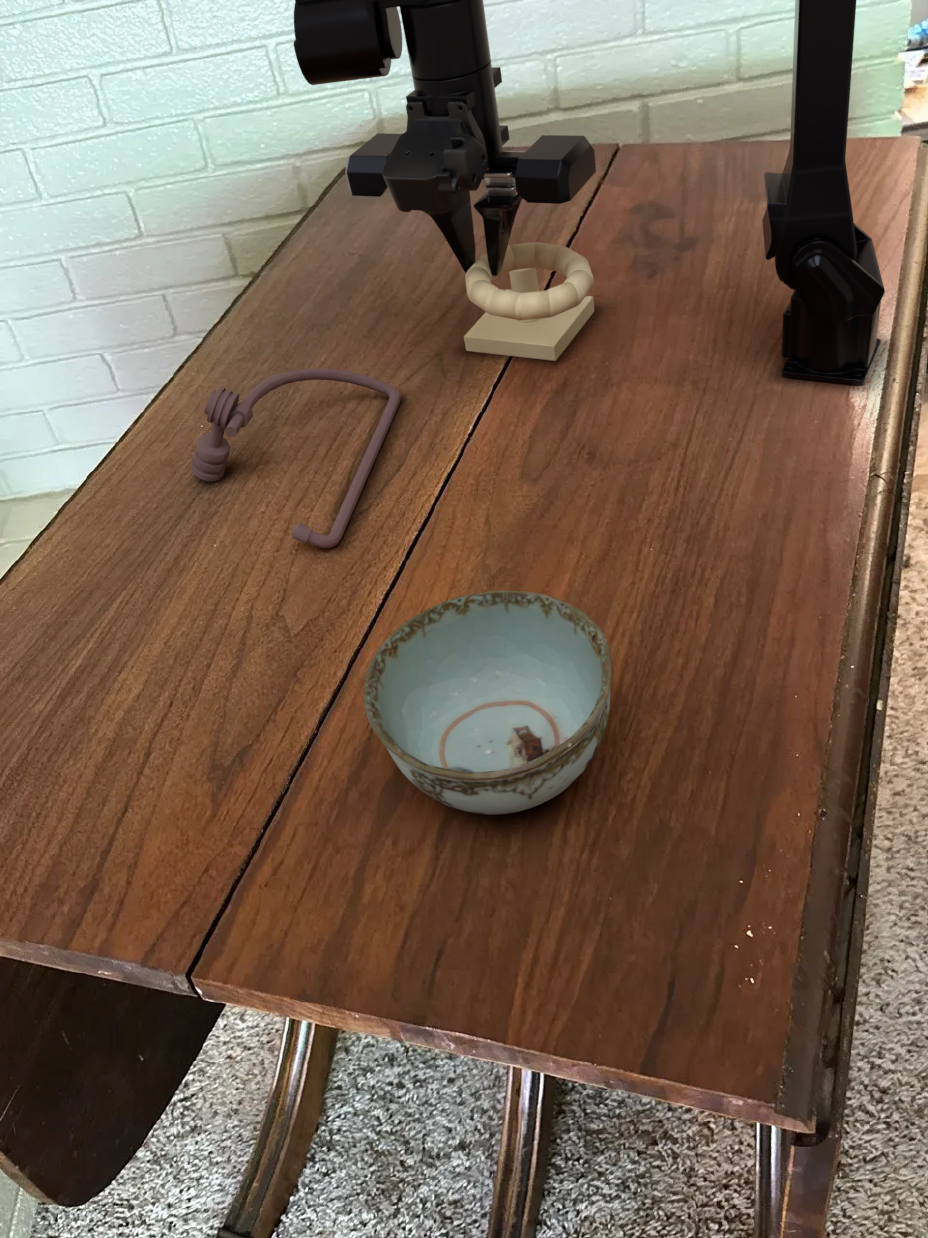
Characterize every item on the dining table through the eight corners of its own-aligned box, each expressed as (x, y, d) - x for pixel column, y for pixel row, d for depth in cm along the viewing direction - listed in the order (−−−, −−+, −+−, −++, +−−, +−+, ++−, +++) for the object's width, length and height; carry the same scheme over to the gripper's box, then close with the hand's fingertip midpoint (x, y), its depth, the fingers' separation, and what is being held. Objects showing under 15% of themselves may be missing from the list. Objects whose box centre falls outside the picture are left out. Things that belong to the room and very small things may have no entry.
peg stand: (594, 311, 100) (588, 244, 96) (555, 361, 95) (547, 292, 91) (507, 303, 104) (498, 238, 100) (465, 351, 99) (454, 285, 95)
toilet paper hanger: (340, 540, 79) (159, 463, 77) (311, 610, 85) (142, 540, 83) (409, 379, 94) (259, 312, 92) (380, 449, 100) (239, 387, 98)
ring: (610, 271, 88) (611, 248, 86) (563, 333, 82) (563, 309, 80) (498, 253, 91) (497, 230, 90) (445, 311, 85) (443, 288, 84)
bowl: (666, 811, 59) (660, 714, 53) (436, 905, 57) (406, 814, 52) (566, 654, 69) (552, 558, 63) (366, 729, 67) (335, 637, 61)
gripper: (283, 109, 76) (336, 312, 86) (524, 109, 68) (550, 332, 79) (361, 54, 83) (402, 249, 93) (589, 48, 75) (605, 261, 85)
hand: (483, 272), depth 87 cm, fingers closed on ring, 2 cm apart
